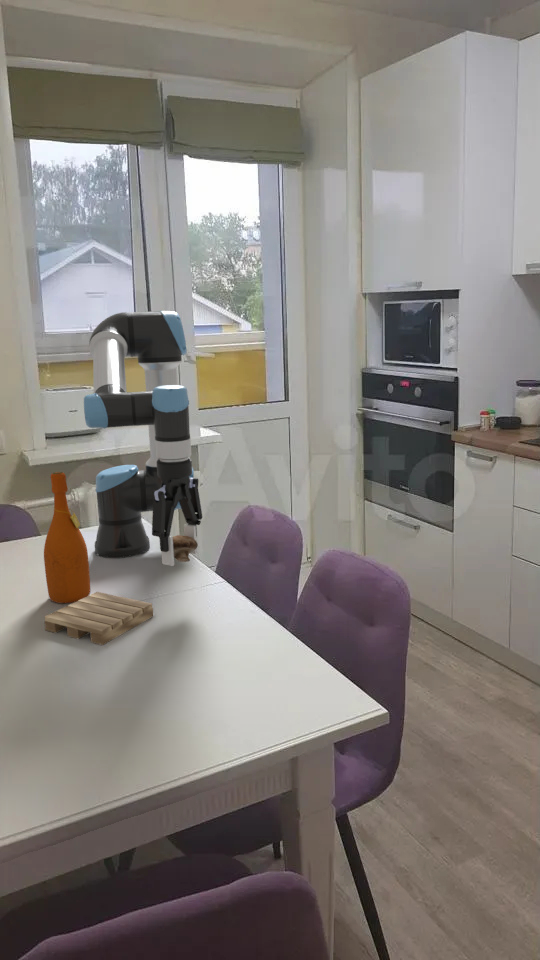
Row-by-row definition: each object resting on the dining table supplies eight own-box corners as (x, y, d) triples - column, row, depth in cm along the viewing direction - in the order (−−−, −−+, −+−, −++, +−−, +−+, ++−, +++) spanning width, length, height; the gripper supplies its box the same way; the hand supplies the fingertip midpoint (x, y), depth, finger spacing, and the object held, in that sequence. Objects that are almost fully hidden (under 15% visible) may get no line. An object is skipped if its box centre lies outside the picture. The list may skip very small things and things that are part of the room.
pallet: (98, 603, 170) (97, 591, 169) (153, 616, 162) (152, 603, 161) (45, 630, 156) (43, 616, 156) (102, 645, 148) (101, 631, 147)
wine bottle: (66, 608, 167) (53, 478, 161) (39, 599, 173) (25, 474, 167) (100, 594, 175) (89, 470, 168) (73, 586, 181) (61, 466, 174)
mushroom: (195, 553, 159) (186, 527, 161) (161, 567, 160) (153, 541, 162) (206, 559, 167) (197, 533, 169) (174, 572, 168) (166, 547, 170)
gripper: (188, 447, 170) (193, 542, 176) (128, 466, 153) (136, 570, 158) (215, 450, 166) (220, 547, 172) (157, 470, 149) (164, 576, 155)
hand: (180, 558), depth 165 cm, fingers closed on mushroom, 8 cm apart
